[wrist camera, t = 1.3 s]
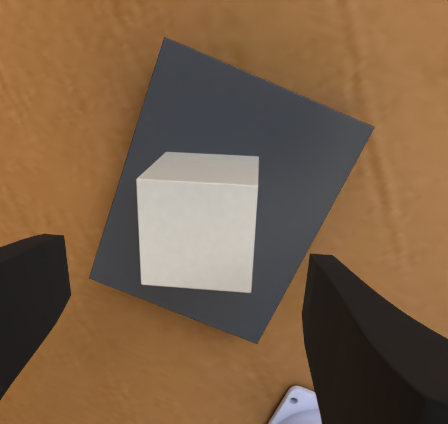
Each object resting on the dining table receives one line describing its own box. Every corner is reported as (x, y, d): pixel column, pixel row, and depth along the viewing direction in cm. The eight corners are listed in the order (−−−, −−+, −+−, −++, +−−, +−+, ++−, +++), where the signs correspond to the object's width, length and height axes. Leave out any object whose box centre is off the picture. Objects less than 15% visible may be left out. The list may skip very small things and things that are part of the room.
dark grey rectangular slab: (257, 317, 24) (257, 344, 22) (105, 257, 24) (88, 278, 22) (361, 120, 20) (374, 127, 17) (176, 40, 19) (164, 36, 17)
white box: (253, 242, 20) (251, 293, 15) (167, 236, 20) (140, 285, 16) (259, 156, 18) (258, 185, 14) (165, 151, 19) (135, 178, 14)
